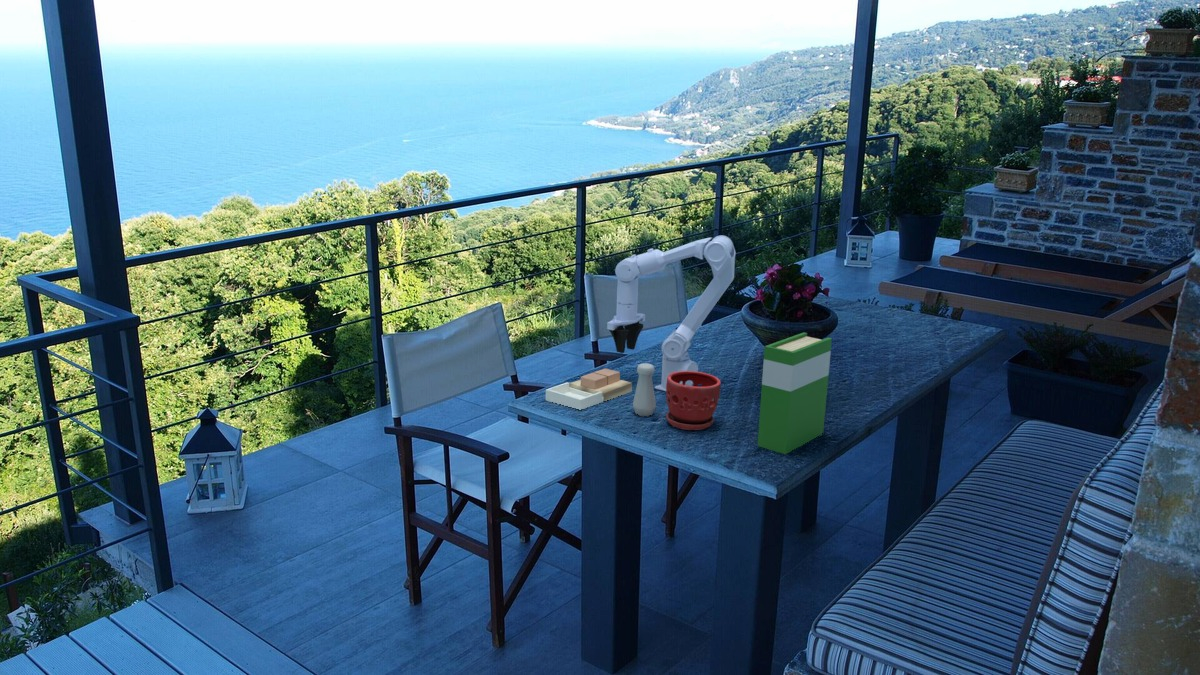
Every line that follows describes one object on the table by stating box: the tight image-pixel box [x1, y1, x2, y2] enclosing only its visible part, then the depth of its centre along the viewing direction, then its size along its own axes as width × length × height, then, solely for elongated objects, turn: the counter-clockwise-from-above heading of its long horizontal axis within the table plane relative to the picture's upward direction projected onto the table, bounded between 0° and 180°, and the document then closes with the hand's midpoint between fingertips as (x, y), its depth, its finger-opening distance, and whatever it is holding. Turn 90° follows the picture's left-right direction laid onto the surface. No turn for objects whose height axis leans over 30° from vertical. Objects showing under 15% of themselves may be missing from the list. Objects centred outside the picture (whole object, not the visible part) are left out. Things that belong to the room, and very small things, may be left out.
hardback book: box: [757, 332, 833, 455], centre depth 219 cm, size 18×7×24 cm, turn 139°
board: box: [568, 379, 633, 402], centre depth 252 cm, size 12×12×2 cm
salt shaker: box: [632, 362, 657, 417], centre depth 235 cm, size 6×6×13 cm
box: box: [545, 382, 604, 410], centre depth 244 cm, size 12×9×3 cm
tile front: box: [580, 372, 607, 390], centre depth 250 cm, size 5×5×2 cm
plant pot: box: [665, 371, 722, 431], centre depth 229 cm, size 13×13×12 cm
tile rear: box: [593, 368, 621, 385], centre depth 254 cm, size 5×5×2 cm
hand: (625, 350), depth 258 cm, fingers open, 4 cm apart
